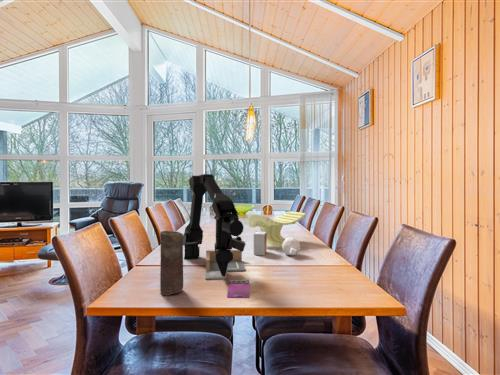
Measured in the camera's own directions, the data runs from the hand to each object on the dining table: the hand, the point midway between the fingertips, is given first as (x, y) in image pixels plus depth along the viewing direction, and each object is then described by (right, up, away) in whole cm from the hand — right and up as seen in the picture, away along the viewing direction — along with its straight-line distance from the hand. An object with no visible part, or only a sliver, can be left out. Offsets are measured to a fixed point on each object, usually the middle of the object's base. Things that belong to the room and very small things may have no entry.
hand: (223, 272), depth 113 cm
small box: (+16, -1, +36) cm, 39 cm away
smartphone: (+7, -3, -13) cm, 14 cm away
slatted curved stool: (+26, -1, +59) cm, 65 cm away
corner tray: (0, -1, +14) cm, 14 cm away
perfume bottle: (+30, -1, +32) cm, 44 cm away
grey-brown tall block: (-15, -2, -16) cm, 22 cm away
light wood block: (-3, -2, 0) cm, 3 cm away
